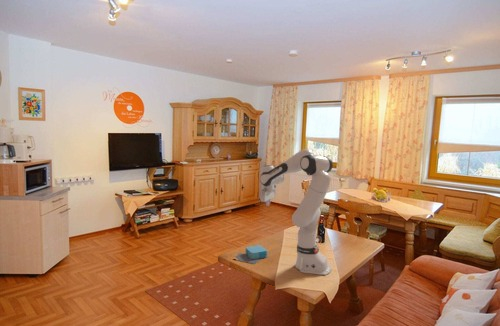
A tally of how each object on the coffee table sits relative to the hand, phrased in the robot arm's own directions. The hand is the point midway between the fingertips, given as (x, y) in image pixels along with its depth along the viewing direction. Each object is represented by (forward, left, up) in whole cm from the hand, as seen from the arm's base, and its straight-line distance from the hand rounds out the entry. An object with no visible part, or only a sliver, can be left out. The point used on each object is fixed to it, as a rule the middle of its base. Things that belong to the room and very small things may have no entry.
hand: (268, 205), depth 228 cm
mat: (+4, +27, -31) cm, 42 cm away
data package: (+5, +16, -29) cm, 33 cm away
